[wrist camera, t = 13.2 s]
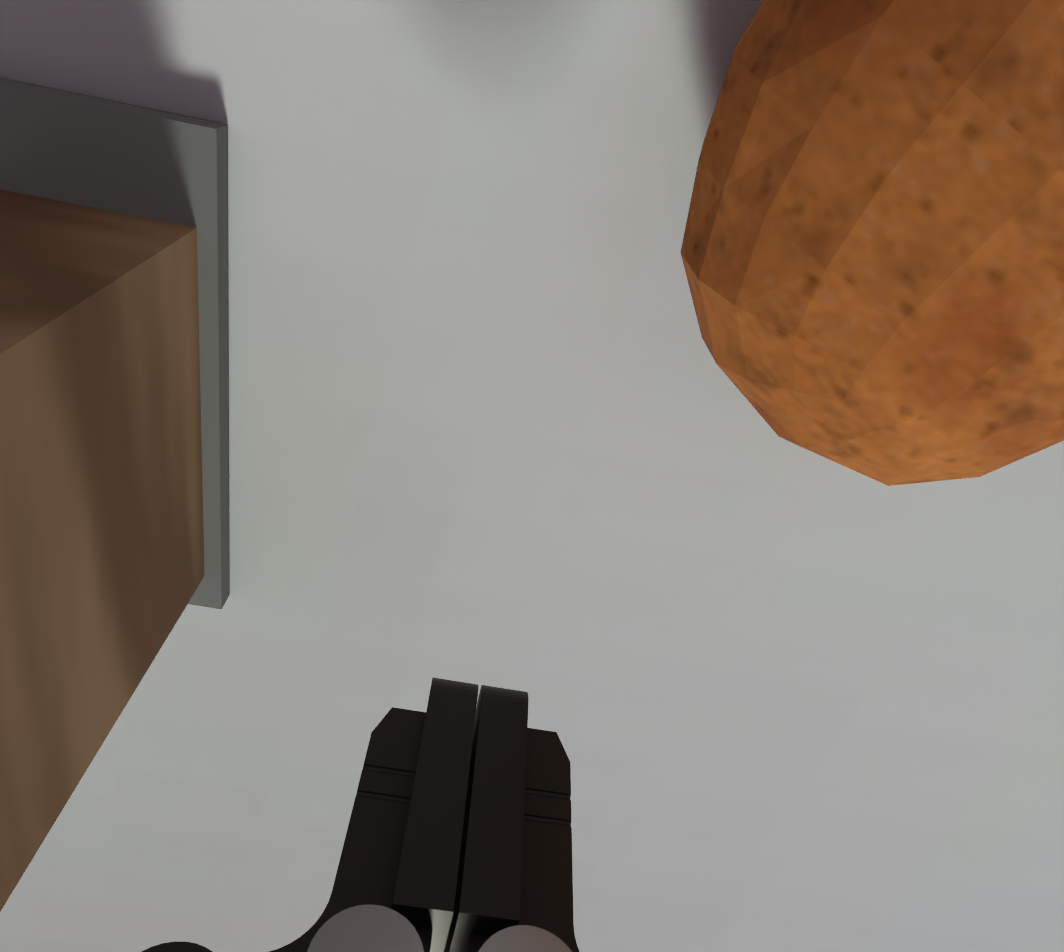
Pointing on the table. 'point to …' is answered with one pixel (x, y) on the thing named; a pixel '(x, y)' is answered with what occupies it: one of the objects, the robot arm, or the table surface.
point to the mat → (151, 192)
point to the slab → (88, 487)
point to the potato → (890, 231)
